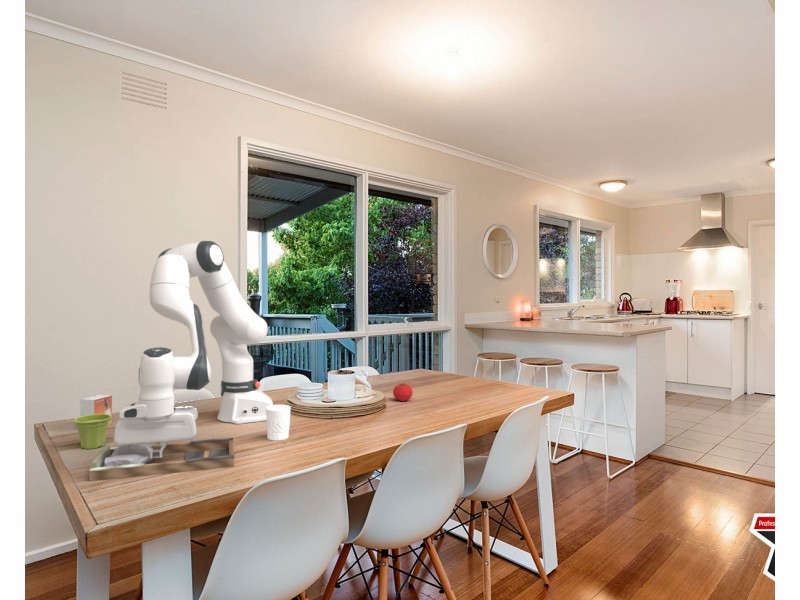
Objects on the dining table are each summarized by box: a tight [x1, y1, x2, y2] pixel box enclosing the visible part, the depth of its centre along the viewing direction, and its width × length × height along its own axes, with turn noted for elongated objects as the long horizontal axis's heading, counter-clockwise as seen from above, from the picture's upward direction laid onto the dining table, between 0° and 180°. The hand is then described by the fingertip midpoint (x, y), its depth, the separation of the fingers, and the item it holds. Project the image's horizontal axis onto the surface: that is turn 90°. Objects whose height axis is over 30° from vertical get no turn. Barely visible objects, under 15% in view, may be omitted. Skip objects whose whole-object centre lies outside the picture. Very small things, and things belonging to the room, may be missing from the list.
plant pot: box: [74, 414, 111, 450], centre depth 145 cm, size 9×9×9 cm
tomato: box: [392, 382, 414, 402], centre depth 214 cm, size 9×9×8 cm
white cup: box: [265, 404, 292, 442], centre depth 157 cm, size 8×8×10 cm
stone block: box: [104, 444, 153, 467], centre depth 131 cm, size 12×5×10 cm
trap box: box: [89, 437, 235, 482], centre depth 134 cm, size 34×18×4 cm, turn 110°
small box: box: [79, 394, 113, 427], centre depth 165 cm, size 8×6×10 cm
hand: (156, 457), depth 132 cm, fingers closed
